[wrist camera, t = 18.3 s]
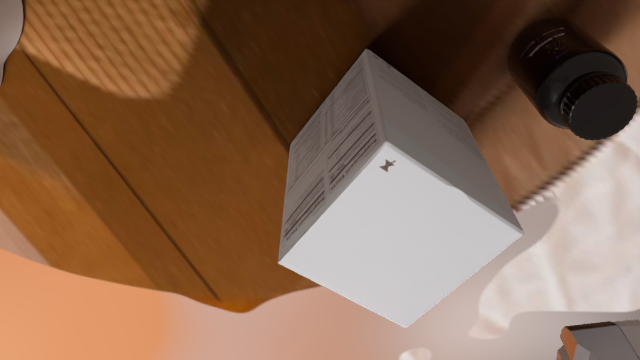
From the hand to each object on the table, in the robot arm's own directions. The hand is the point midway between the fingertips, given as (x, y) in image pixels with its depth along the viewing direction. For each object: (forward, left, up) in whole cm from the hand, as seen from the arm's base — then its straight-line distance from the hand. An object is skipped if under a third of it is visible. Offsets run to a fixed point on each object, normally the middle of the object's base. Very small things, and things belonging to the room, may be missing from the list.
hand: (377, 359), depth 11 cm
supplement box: (+2, -15, -37) cm, 40 cm away
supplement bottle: (+18, -9, -37) cm, 42 cm away
